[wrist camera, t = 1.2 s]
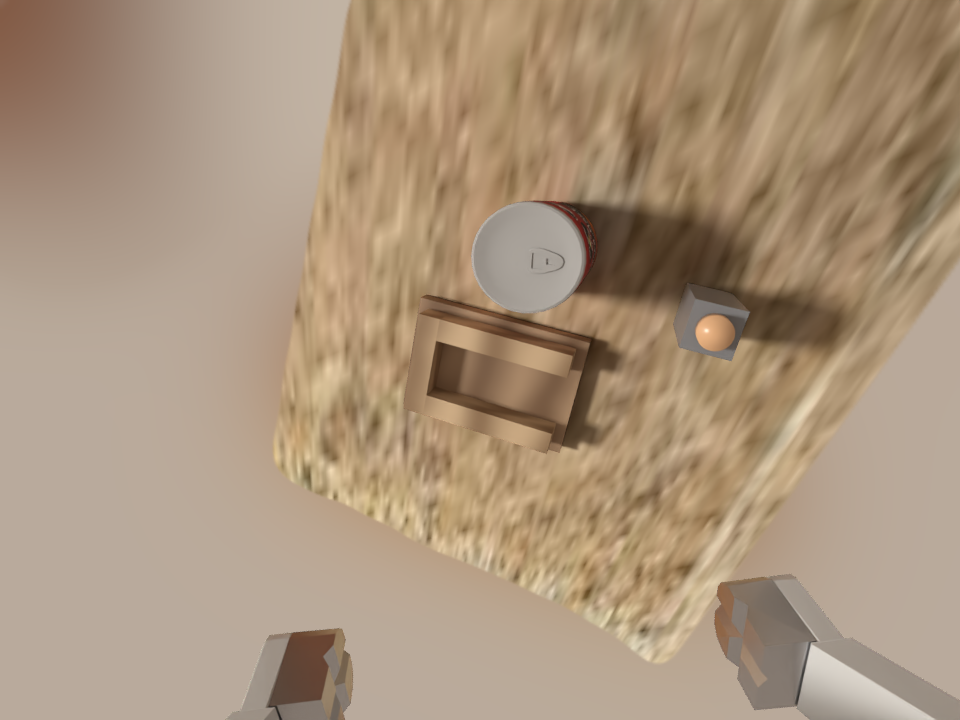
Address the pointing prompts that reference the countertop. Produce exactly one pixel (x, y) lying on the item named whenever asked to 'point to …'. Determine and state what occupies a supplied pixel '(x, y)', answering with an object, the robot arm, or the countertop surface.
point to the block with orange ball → (709, 321)
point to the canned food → (533, 254)
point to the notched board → (494, 373)
